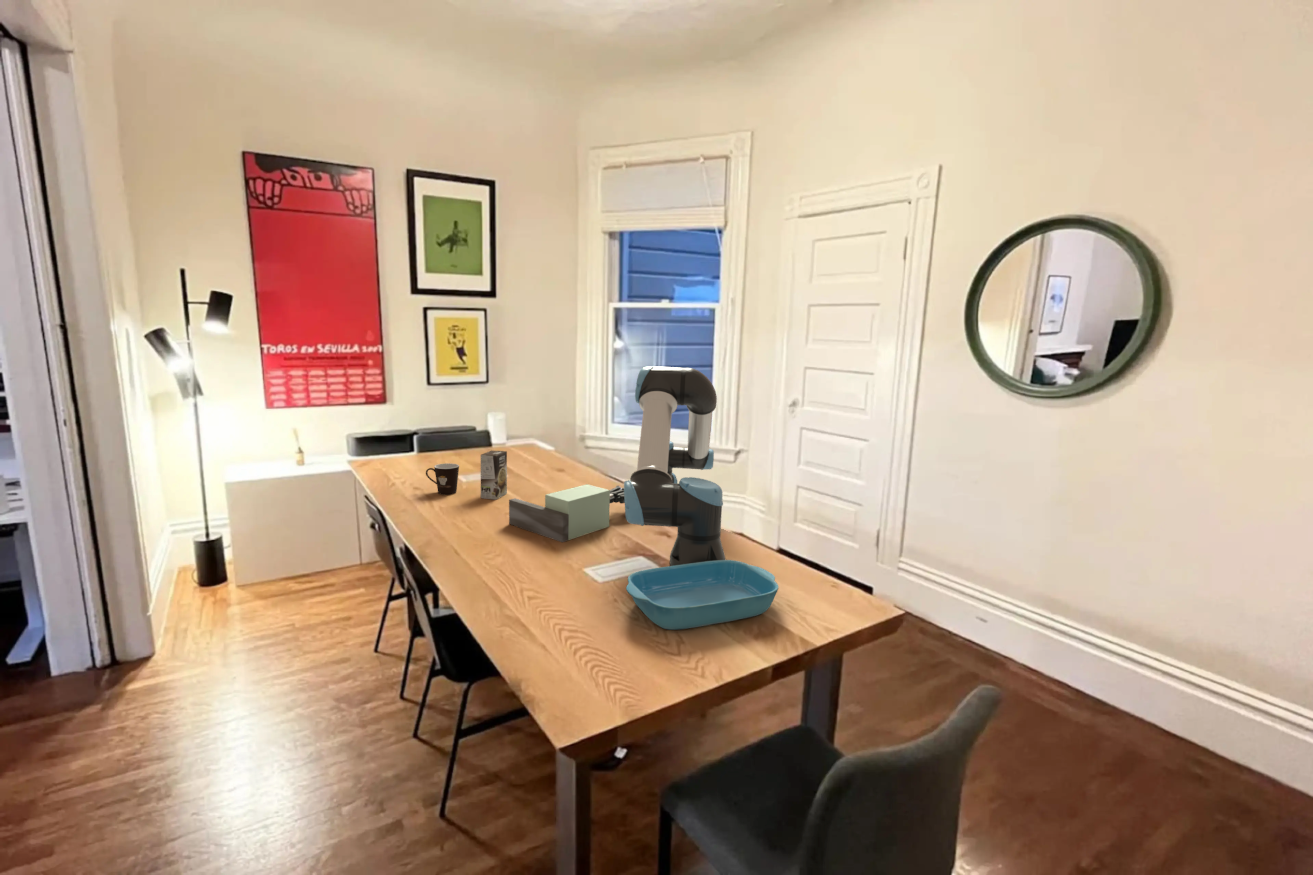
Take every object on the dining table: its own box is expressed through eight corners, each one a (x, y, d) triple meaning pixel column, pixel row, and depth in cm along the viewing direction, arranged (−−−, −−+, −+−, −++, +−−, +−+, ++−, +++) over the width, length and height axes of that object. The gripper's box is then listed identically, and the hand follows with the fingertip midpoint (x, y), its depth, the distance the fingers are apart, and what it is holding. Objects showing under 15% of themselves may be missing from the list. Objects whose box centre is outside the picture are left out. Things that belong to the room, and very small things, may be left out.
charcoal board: (515, 522, 202) (515, 498, 201) (568, 540, 188) (568, 514, 186) (509, 524, 200) (509, 499, 199) (562, 542, 186) (562, 516, 184)
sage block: (586, 519, 208) (587, 484, 206) (608, 526, 202) (609, 490, 200) (544, 532, 194) (545, 494, 192) (567, 540, 188) (568, 501, 186)
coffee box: (496, 500, 226) (496, 455, 223) (480, 498, 227) (479, 454, 224) (507, 493, 235) (507, 450, 232) (491, 492, 236) (491, 449, 233)
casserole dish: (741, 579, 165) (743, 553, 163) (795, 616, 145) (798, 586, 144) (609, 601, 149) (610, 572, 147) (650, 646, 129) (651, 613, 128)
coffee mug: (464, 492, 234) (464, 465, 232) (445, 497, 227) (445, 469, 225) (443, 486, 240) (442, 461, 238) (424, 491, 233) (423, 464, 231)
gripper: (658, 502, 219) (612, 517, 201) (629, 495, 227) (583, 509, 208) (659, 481, 218) (613, 494, 199) (630, 475, 225) (583, 486, 207)
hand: (598, 502), depth 204 cm, fingers closed
